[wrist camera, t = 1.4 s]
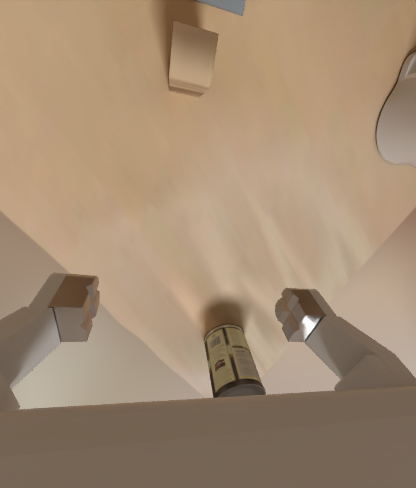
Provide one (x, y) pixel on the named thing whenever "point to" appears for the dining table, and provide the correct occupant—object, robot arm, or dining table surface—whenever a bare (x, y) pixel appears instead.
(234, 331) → the coffee can
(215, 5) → the mat
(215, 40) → the card block
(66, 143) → the dining table surface
